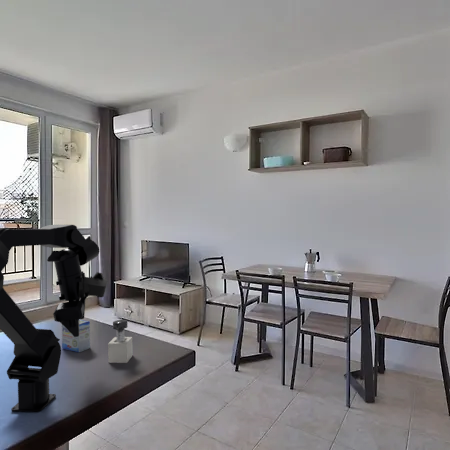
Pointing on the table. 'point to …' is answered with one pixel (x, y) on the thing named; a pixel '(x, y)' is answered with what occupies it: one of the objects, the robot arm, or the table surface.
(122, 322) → the plunger
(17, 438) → the table surface
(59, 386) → the table surface
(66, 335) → the medicine box
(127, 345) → the press block
